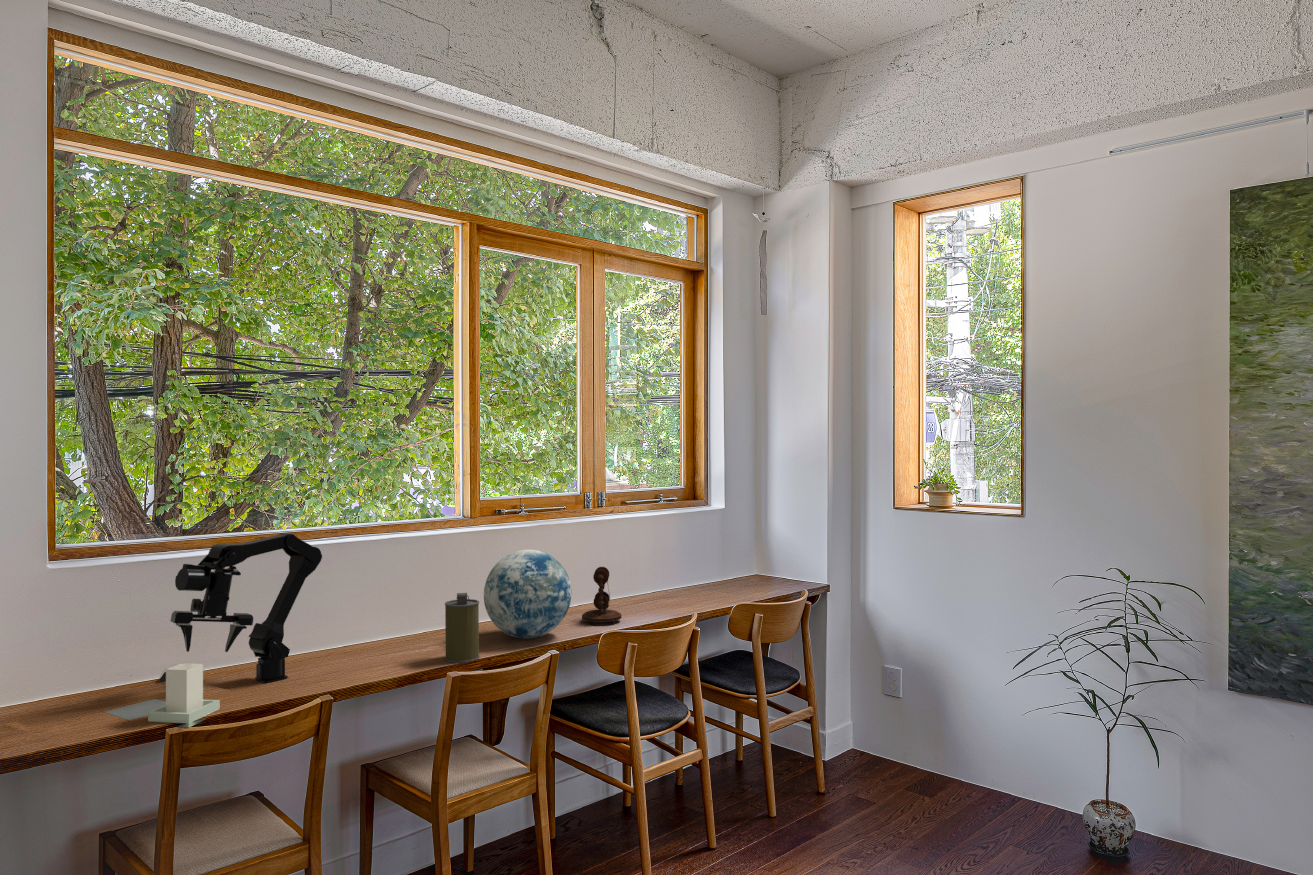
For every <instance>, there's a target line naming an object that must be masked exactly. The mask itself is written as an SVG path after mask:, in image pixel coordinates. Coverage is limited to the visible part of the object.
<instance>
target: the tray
mask: <svg viewBox="0 0 1313 875" xmlns="http://www.w3.org/2000/svg"><path fill="white" fill-rule="evenodd" d="M220 701H221V700H220V699H204V698H203V707H200V708H198V709H196V710H194V711H192V712H189V713H178V712H166V705H164V706H162V707H160V708H157V709H155V710H153V711H150V712H148V716H147V719H148V720H147V721H148V722H153V723H154V722H155V723H168V724H169V723H173V724H174V723H175V724H181V725H176V728H187V729H188V728H189V729H190V728H191V727H193V726H195V725H197V724H199V723H202V722H203V721H205V720H207V719H206V718H207V717H205V716H209V714H212V713H214V712H216V711H218V710H220V709H221V708H220V707H221V705H220V704H221V703H220ZM203 717H205V718H203Z"/></svg>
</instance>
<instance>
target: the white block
mask: <svg viewBox="0 0 1313 875" xmlns="http://www.w3.org/2000/svg"><path fill="white" fill-rule="evenodd" d="M175 665H176V666H175ZM175 665H174V666H173V667H172V666H170V667H169V668H165V672H166V682H165V702H166V712H178V713H189V712H192V711H194V710H196V709H198V708H200V707H203V699H204V664H203V663H188V662H187V663H186V662H183V663H180V664H175Z"/></svg>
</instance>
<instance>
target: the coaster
mask: <svg viewBox="0 0 1313 875" xmlns="http://www.w3.org/2000/svg"><path fill="white" fill-rule="evenodd" d="M164 705H166V700H161V699H157V698H153V699H149V700H144V701H141V702H137V703H134V704H133V703H132V704H129V705H125V706H122V707H118V708H113V709H110V710H107V711H104V713H106V714H109V715H111V716H115V717H118V718H121V719H123V720H127V721H132V720H136V719H139V718H143V717H148V712H150V711H153V710H155V709H157V708H160V707H162V706H164Z"/></svg>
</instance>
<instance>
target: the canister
mask: <svg viewBox="0 0 1313 875" xmlns="http://www.w3.org/2000/svg"><path fill="white" fill-rule="evenodd" d="M479 604H480V601H479V600H478V599H473V598H470V597H469V595H468V593H467V592H458V593H457V594H456V599H451V600H448V601H447V600H446V601H445V603H444V606H445V612H444V613H445V616H444V617H445V618H444V619H445V626H444V627H445V628H444V629H445V657H444V661H446V662H448V663H453V664H461V663H462V664H463V663H465V664H466V663H471V662H474V660H475V661H477V660H478V659H480V652H479V650H480V644H479V643H480V642H479V641H480V638H479V635H480V634H479V633H480V632H479V628H480V625H479V614H480V613H479V612H480V611H479Z"/></svg>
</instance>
